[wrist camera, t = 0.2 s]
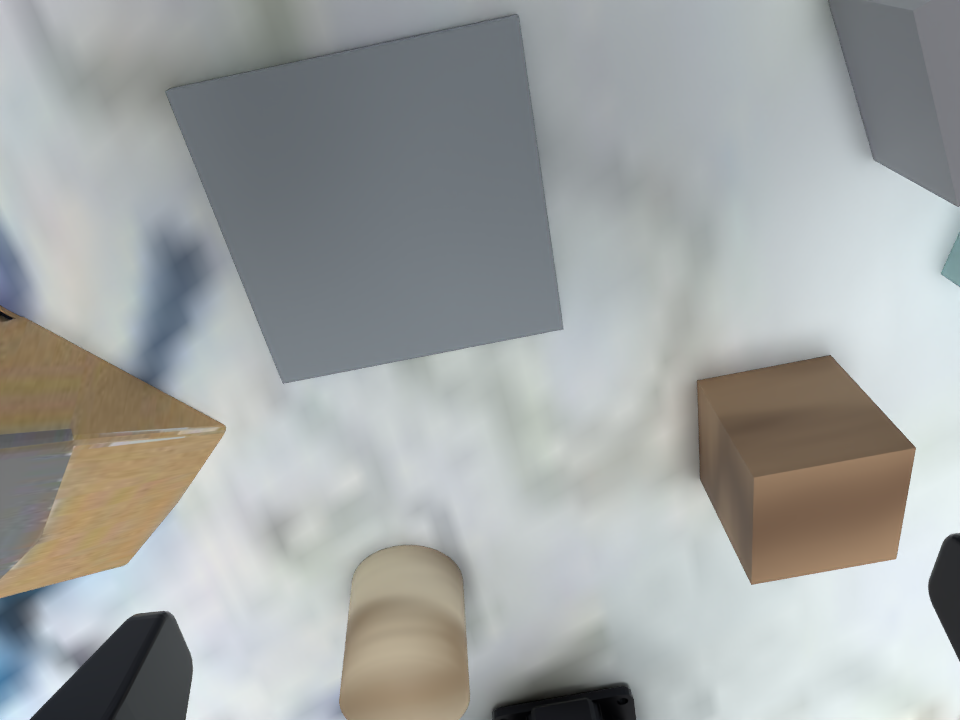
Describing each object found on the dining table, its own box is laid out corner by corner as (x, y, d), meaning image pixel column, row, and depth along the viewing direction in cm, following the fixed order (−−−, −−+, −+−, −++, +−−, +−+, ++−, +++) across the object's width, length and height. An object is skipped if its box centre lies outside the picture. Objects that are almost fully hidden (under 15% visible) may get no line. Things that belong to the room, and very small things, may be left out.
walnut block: (820, 455, 27) (896, 559, 22) (699, 478, 27) (751, 584, 23) (829, 354, 24) (915, 448, 20) (696, 379, 24) (754, 477, 20)
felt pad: (561, 323, 23) (563, 329, 22) (284, 376, 23) (282, 383, 23) (516, 14, 18) (518, 16, 18) (170, 88, 18) (165, 91, 18)
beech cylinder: (472, 610, 30) (480, 726, 26) (368, 629, 30) (359, 747, 26) (450, 535, 27) (455, 649, 23) (338, 556, 28) (322, 673, 23)
